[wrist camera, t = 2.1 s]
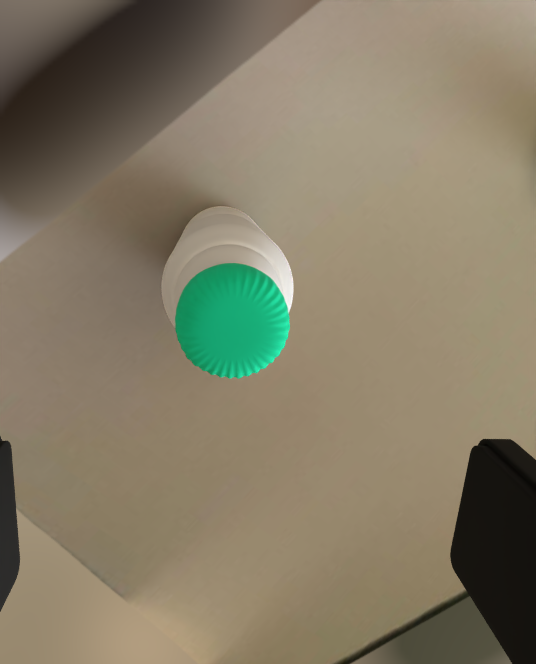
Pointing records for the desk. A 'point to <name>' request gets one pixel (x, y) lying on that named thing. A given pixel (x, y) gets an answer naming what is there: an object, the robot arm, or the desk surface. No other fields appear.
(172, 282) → the water bottle
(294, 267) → the desk surface
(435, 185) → the desk surface
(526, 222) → the desk surface
